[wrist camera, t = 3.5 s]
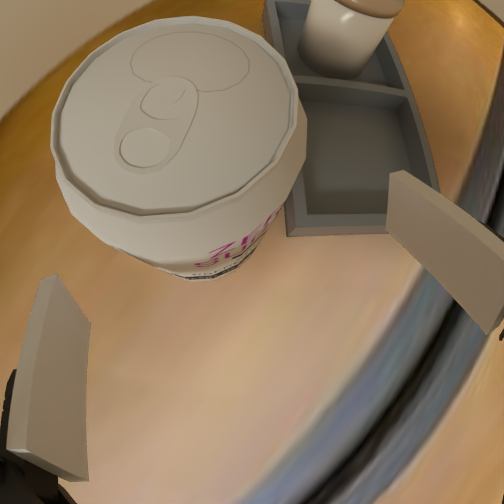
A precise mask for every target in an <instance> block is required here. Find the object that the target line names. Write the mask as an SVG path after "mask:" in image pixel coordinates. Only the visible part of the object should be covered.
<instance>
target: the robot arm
mask: <svg viewBox="0 0 504 504" xmlns="http://www.w3.org/2000/svg"><path fill="white" fill-rule="evenodd" d="M385 230H386V231H387V232H388V233H389V234H390V235H392V236H393V237H394V238H395V239H396V240H397V241H398V242H399V243H400V244H401V245H402V246H403V247H404V248H405V249H406V250H407V251H408V252H409V253H410V254H411V255H412V256H413V257H415V258H416V259H417V260H418V261H419V262H420V263H421V264H422V265H423V266H424V267H425V268H426V269H427V270H428V271H429V272H430V273H431V275H432V276H433V277H434V278H435V279H436V280H437V281H438V282H439V283H440V284H441V285H442V286H443V287H444V288H445V289H446V290H447V291H448V292H449V293H450V294H451V295H452V297H453V298H454V299H455V300H456V301H457V302H458V303H459V304H460V305H461V306H462V307H463V309H464V310H465V311H466V312H467V313H468V314H469V315H470V316H471V318H472V319H473V320H474V321H475V322H476V323H477V324H478V326H479V327H480V328H481V329H482V330H483V331H484V333H485V334H486V335H488V334H489V333H491V332H492V331H493V330H494V329H496V328H497V327H498V326H499V325H500V324H501V322H502V320H503V318H504V238H503V237H502V236H501V235H498V233H497V232H496V231H494V230H493V229H492V228H491V227H489V226H488V225H486V224H484V223H482V222H480V221H478V220H476V219H474V218H473V217H472V216H470V215H469V214H468V213H466V212H465V211H464V210H462V209H461V208H459V207H458V206H457V205H455V204H454V203H453V202H451V201H450V200H448V199H447V198H446V197H444V196H443V195H441V194H440V193H438V192H437V191H435V190H434V189H432V188H431V187H429V186H428V185H426V184H425V183H423V182H422V181H420V180H419V179H417V178H416V177H414V176H413V175H411V174H409V173H408V172H406V171H405V170H401V171H397V172H393V173H390V176H389V193H388V206H387V218H386V228H385ZM90 327H91V323H90V321H89V320H88V318H87V317H86V316H85V314H84V313H83V311H82V310H81V309H80V307H79V306H78V304H77V303H76V301H75V300H74V298H73V297H72V295H71V294H70V292H69V291H68V289H67V288H66V286H65V285H64V283H63V282H62V280H61V279H60V277H59V275H58V274H57V273H56V274H54V275H51V276H48V277H45V278H43V279H41V282H40V285H39V288H38V291H37V294H36V297H35V300H34V304H33V307H32V310H31V314H30V317H29V321H28V324H27V328H26V332H25V336H24V340H23V344H22V348H21V352H20V357H19V361H18V366H17V369H15V370H13V372H12V374H11V376H10V378H9V380H8V382H7V386H6V391H5V400H4V404H3V410H4V411H2V418H1V426H0V504H77V503H76V502H75V501H74V500H73V498H72V497H71V496H70V495H69V493H68V492H67V491H66V490H65V489H64V488H63V487H62V486H61V485H60V484H58V477H60V478H62V479H64V480H67V481H69V482H83V481H89V475H88V461H87V441H86V386H87V364H88V350H89V338H90ZM503 338H504V329H503V331H502V332H501V334H500V337H499V340H500V341H502V339H503ZM502 504H504V495H503V500H502Z"/></svg>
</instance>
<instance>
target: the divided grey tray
mask: <svg viewBox="0 0 504 504" xmlns="http://www.w3.org/2000/svg"><path fill="white" fill-rule="evenodd" d="M310 4H311V1H309V0H265V3H264V9H263V15H262V19H263V26H264V33H265V40H266V41H267V42H268V43H269V44H270V45H271V46H272V47H273V48H274V49H275V50H276V51H277V52H278V53H279V54H280V55H281V56H282V57H283V58H284V59H285V61H286V63H287V65H288V67H289V70H290V72H291V74H292V77H293V79H294V81H295V84H296V86H297V88H298V97H299V99H300V102H301V104H302V107H303V109H304V112H305V114H306V117H307V143H306V159H305V161H304V163H303V165H302V167H301V170H300V172H299V174H298V176H297V178H296V180H295V182H294V184H293V186H292V188H291V190H290V193H289V195H288V197H287V199H286V200H285V202H284V211H285V223H286V235H287V237H297V236H324V235H353V234H385V233H388V232H387V231H386V230H385V228H386V218H387V206H388V193H389V176H390V173H393V172H397V171H401V170H405V171H406V172H408V173H409V174H411V175H413V176H414V177H416V178H417V179H419V180H420V181H422V182H423V183H425V184H426V185H428V186H429V187H431V188H432V189H434V190H435V191H437V192H438V193H440V188H439V184H438V179H437V175H436V170H435V166H434V162H433V158H432V154H431V151H430V147H429V143H428V140H427V136H426V133H425V129H424V126H423V123H422V120H421V116H420V113H419V110H418V107H417V104H416V101H415V98H414V96H413V93H412V90H411V87H410V85H409V82H408V79H407V77H406V74H405V72H404V69H403V67H402V64H401V62H400V59H399V57H398V55H397V52H396V50H395V48H394V46H393V43H392V41H391V39H390V37H389V35H388V32H387V31H386V33H385V35H384V36H383V38H382V39H381V41H380V43H379V44H378V46H377V48H376V49H375V51H374V53H373V54H372V56H371V58H370V59H369V61H368V63H367V64H366V66H365V68H364V69H363V71H362V72H361V74H360V75H359V76H358V77H356V78H354V79H351V80H341V79H332V78H327V77H324V76H322V75H320V74H318V73H316V72H314V71H313V70H311V69H310V68H309V67H308V66H307V65H305V64H304V62H303V61H302V60H301V58H300V57H299V54H298V51H297V46H298V43H299V39H300V36H301V33H302V30H303V26H304V23H305V20H306V17H307V14H308V10H309V7H310ZM440 194H441V193H440Z"/></svg>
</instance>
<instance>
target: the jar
mask: <svg viewBox="0 0 504 504" xmlns="http://www.w3.org/2000/svg"><path fill="white" fill-rule="evenodd" d="M403 6H404V0H312V1H311V4H310V7H309V10H308V14H307V17H306V20H305V23H304V26H303V30H302V33H301V36H300V39H299V43H298V46H297V51H298V54H299V57H300V58H301V60H302V61H303V62H304V64H305V65H307V66H308V67H309V68H310V69H311V70H313V71H314V72H316V73H318V74H320V75H322V76H324V77H327V78H332V79H341V80H351V79H354V78H356V77H358V76H359V75H360V74H361V72H362V71H363V69H364V68H365V66H366V64H367V63H368V61H369V59H370V58H371V56H372V54H373V53H374V51H375V49H376V48H377V46H378V44H379V43H380V41H381V39H382V38H383V36H384V35H385V33H386V31H387V30H388V28H389V26H390V25H391V23H392V21H393V20H394V18H395V17H396V16H397V15H398V14H399V12H400V11H401V9H402V7H403Z"/></svg>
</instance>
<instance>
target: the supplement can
mask: <svg viewBox="0 0 504 504" xmlns="http://www.w3.org/2000/svg"><path fill="white" fill-rule="evenodd" d="M306 143H307V117H306V114H305V112H304V109H303V107H302V104H301V102H300V99H299V97H298V88H297V86H296V84H295V81H294V79H293V77H292V74H291V72H290V70H289V67H288V65H287V63H286V61H285V59H284V58H283V57H282V56H281V55H280V54H279V53H278V52H277V51H276V50H275V49H274V48H273V47H272V46H271V45H270V44H269V43H268V42H267V41H266V40H264V39H263V38H262V37H261V36H260V35H258V34H256V33H254V32H251V31H249V30H247V29H245V28H243V27H241V26H239V25H236V24H234V23H232V22H230V21H224V20H218V19H212V18H205V17H198V16H186V17H175V18H166V19H158V20H154V21H151V22H148V23H145V24H143V25H140V26H137V27H134V28H132V29H129V30H126V31H124V32H121V33H120V34H118V35H117V36H115V37H113V38H112V39H110V40H109V41H107V42H106V43H104V44H103V45H102V46H100V47H99V48H97V49H96V50H94V51H93V52H92V53H90V54H89V55H88V56H87V58H86V59H85V60H84V61H83V62H82V63H81V64H80V66H79V67H78V68H77V69H76V70H75V71H74V73H73V74H72V75H71V76H70V77H69V79H68V80H67V81H66V83H65V85H64V87H63V90H62V92H61V94H60V96H59V99H58V101H57V103H56V106H55V108H54V111H53V113H52V123H51V148H50V149H51V151H52V154H53V157H54V159H55V163H56V179H57V182H58V184H59V187H60V189H61V191H62V194H63V196H64V198H65V200H66V203H67V205H68V207H69V209H70V212H71V214H72V215H73V216H74V217H75V218H77V219H78V220H79V221H80V222H81V223H82V224H83V225H84V226H85V227H87V228H88V229H89V230H90V231H91V232H92V233H93V234H94V235H96V236H97V237H98V238H99V239H100V240H101V241H102V242H104V243H106V244H108V245H110V246H112V247H114V248H116V249H118V250H120V251H122V252H124V253H126V254H128V255H130V256H132V257H134V258H136V259H139V260H141V261H143V262H145V263H147V264H149V265H151V266H153V267H155V268H157V269H160V270H162V271H164V272H166V273H168V274H170V275H172V276H176V277H179V278H182V279H185V280H189V281H192V282H201V281H215V280H217V279H220V278H222V277H224V276H226V275H229V274H231V273H233V272H235V271H236V270H237V269H238V268H239V267H240V266H241V265H242V264H243V263H244V262H245V261H246V260H248V259H249V258H250V256H251V255H252V253H253V252H254V250H255V248H256V247H257V245H258V244H259V242H260V240H261V239H262V237H263V236H264V234H265V232H266V231H267V229H268V228H269V226H270V224H271V223H272V221H273V220H274V218H275V216H276V215H277V213H278V212H279V210H280V208H281V207H282V205H283V203H284V202H285V200H286V199H287V197H288V195H289V193H290V190H291V188H292V186H293V184H294V182H295V180H296V178H297V176H298V174H299V172H300V170H301V167H302V165H303V163H304V161H305V159H306Z"/></svg>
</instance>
